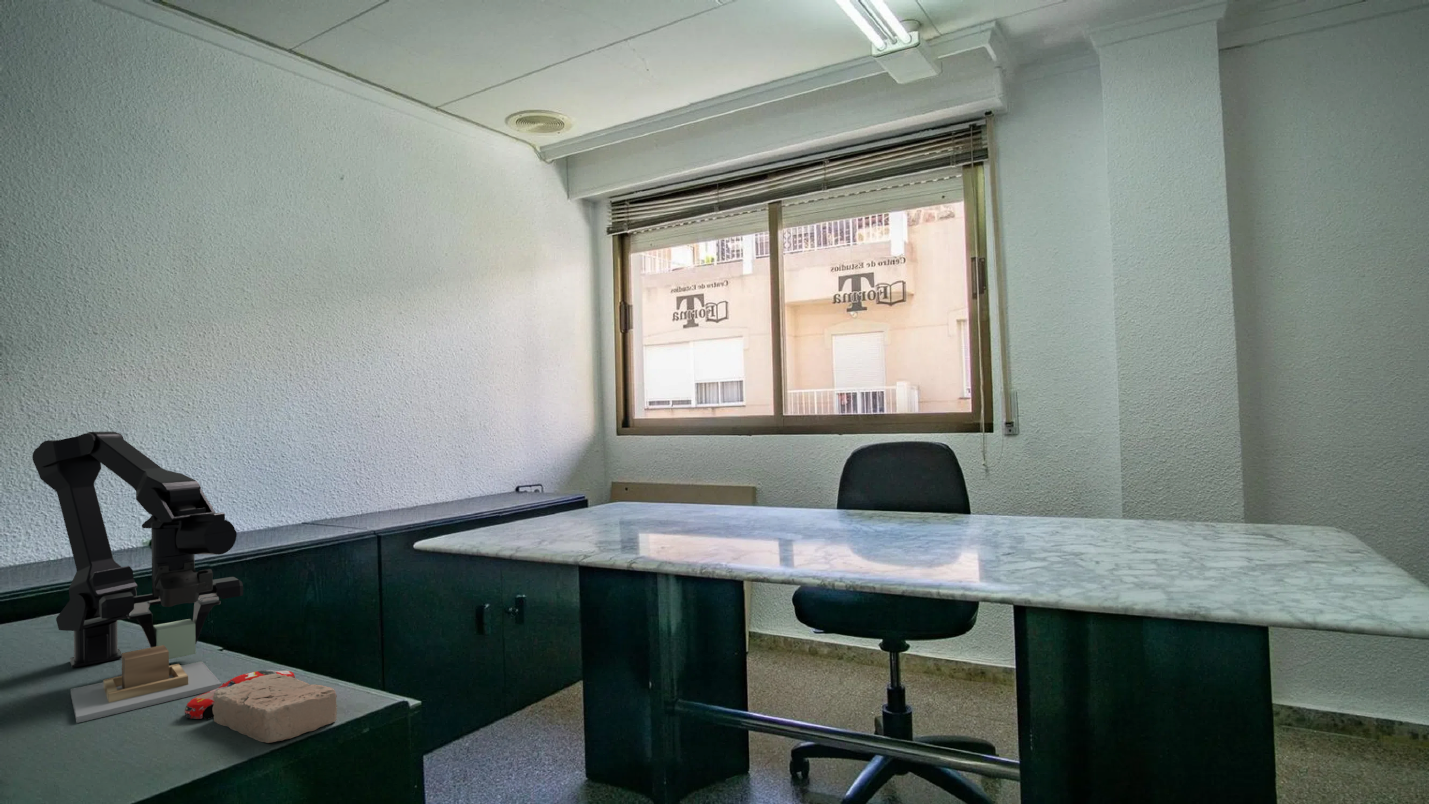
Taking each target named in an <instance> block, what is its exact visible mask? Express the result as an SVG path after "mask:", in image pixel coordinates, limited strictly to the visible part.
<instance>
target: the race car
mask: <svg viewBox="0 0 1429 804" xmlns="http://www.w3.org/2000/svg"><path fill="white" fill-rule="evenodd" d="M269 674H281V675H286V676H287V677H288V676H290V677H293V678H295V679H297V678H296V676H295V674H294V672H292V671H290V670H272V669H267V670H266V669H265V670H258V671H257V670H256V671H251V672H248V673H243V674H240V675H237V676H235V677H233V678H231V679H230V680H228V681H227V682H222V683H221V686H220V687H219V688H217V689H215V690H212V691H209V692H205V693H201V694H198V695H197V696H195V697H194V698H192V699H190V701H188V702H187V704H186V706H185V707H184V708H185V709H184V716H185V717H186V718H188V719H195V720H199V719H203V718H204V719H205V720H210V719H214V714H213V710H212V709H213V705H214V702H215V701H214V700H213V696H214V692H215V691H217V690H220V689H224V688H227V687H229V686H232V685H234V684H239V683H241V682H244V681H246V680H251V679H253V678H257V677H260V676H264V675H269Z"/></svg>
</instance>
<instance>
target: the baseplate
mask: <svg viewBox="0 0 1429 804" xmlns="http://www.w3.org/2000/svg"><path fill="white" fill-rule="evenodd" d="M220 686H222V682H221V681H220V680H219V679H218V678H217V676H215V674H214V673H213V672H212V671H211V670H210V669H209V667H208V666H207V665H206V664H205V663H204V662H203V661H202V660H201V661H196V662H192V663H187V664H182V665H180V663H176V664H171V665H170V664H169V679H166V680H161V681H157V682H152V683H148V684H143V685H139V686H134V687H130V688H125V689H123V688H122V675H117V676H113V677H110V678H109V677H108V678H105V679H103V680H102V682H99V683H92V684H88V685H84V686H78V687H74V688H70V698H71V699H70V700H71V703H72V708H73V713H74V717H75V724H79V723H83V722H87V721H92V720H95V719H101V718H104V717H108V716H113V715H117V714H121V713H124V712H129V711H133V710H139V709H141V708H148V707H150V706H155V705H158V704H162V703H167V702H171V701H172V702H173V701H176V700H179V699H183V698H188V697H192V696H196V695H197V696H198V695H202V694H204V693H207V692H210V691H212V690H215V689H217V688H219V687H220Z"/></svg>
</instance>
